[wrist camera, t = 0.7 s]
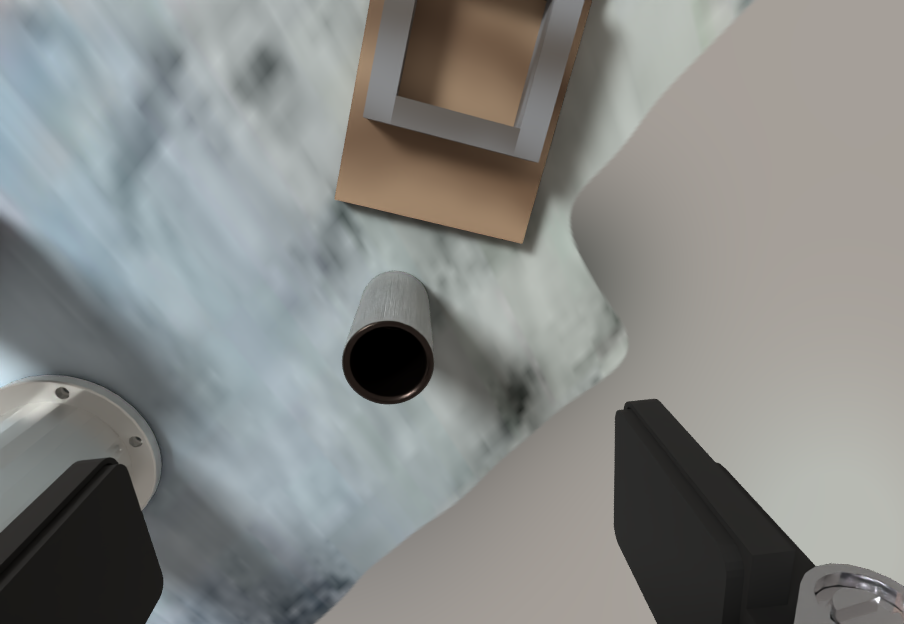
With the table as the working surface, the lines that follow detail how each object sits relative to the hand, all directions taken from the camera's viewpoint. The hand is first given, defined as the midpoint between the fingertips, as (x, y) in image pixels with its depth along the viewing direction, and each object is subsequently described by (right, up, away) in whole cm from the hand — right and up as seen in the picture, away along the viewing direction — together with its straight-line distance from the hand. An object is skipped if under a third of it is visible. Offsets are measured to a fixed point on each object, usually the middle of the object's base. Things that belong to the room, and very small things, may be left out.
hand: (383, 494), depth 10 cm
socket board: (+2, +19, +21) cm, 28 cm away
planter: (-2, +4, +26) cm, 26 cm away
